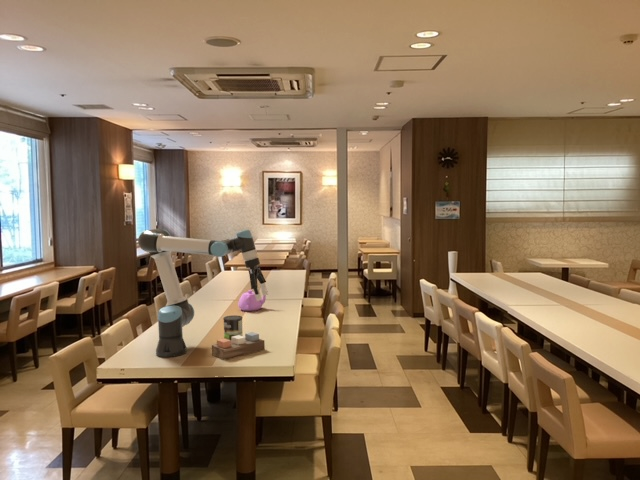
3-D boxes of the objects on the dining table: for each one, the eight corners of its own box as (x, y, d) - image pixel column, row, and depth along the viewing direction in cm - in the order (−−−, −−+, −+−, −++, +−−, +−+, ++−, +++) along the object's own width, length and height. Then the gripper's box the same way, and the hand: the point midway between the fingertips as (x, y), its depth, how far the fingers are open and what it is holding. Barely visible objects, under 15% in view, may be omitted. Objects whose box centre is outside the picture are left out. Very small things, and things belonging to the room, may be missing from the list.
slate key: (245, 339, 263) (245, 333, 263) (252, 337, 266) (252, 332, 266) (251, 341, 259) (251, 335, 259) (259, 339, 262) (258, 334, 262)
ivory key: (231, 342, 257) (231, 336, 257) (238, 340, 260) (238, 335, 260) (237, 344, 253) (237, 339, 253) (245, 343, 256) (245, 337, 256)
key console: (212, 354, 253) (211, 345, 253) (251, 345, 270) (251, 336, 269) (224, 360, 245) (224, 350, 244) (264, 349, 261) (264, 340, 260)
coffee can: (231, 346, 268) (230, 320, 267) (220, 342, 275) (219, 317, 274) (246, 342, 275) (246, 317, 274) (235, 339, 282) (235, 314, 281)
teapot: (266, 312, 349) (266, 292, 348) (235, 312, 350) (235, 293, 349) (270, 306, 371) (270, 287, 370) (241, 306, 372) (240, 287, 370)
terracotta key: (217, 345, 252) (216, 340, 251) (224, 344, 255) (224, 338, 254) (223, 348, 247) (223, 342, 247) (231, 346, 250) (231, 340, 250)
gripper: (251, 260, 250) (263, 300, 251) (263, 254, 275) (274, 291, 276) (237, 263, 251) (249, 304, 252) (250, 258, 276) (261, 294, 277)
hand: (262, 297), depth 264 cm, fingers open, 13 cm apart
